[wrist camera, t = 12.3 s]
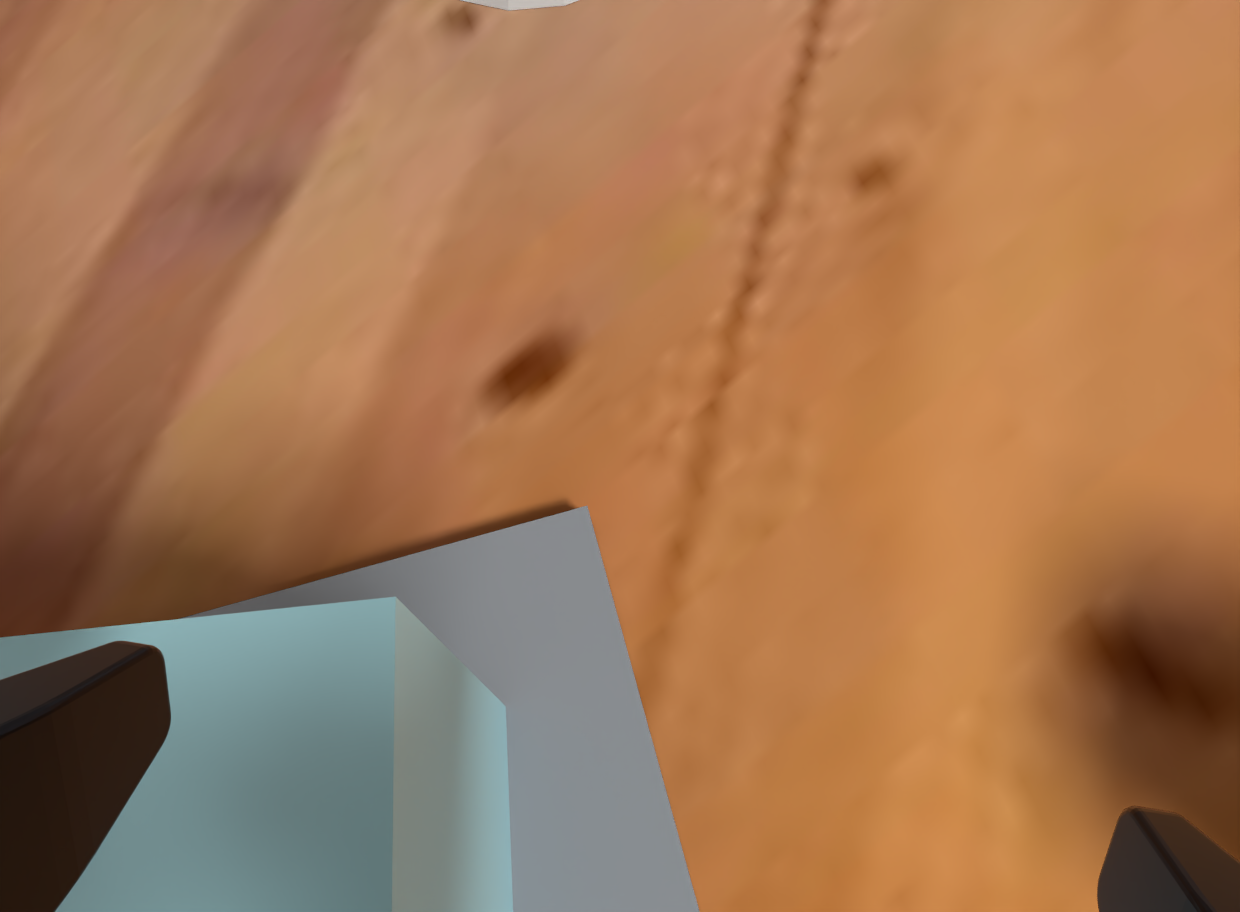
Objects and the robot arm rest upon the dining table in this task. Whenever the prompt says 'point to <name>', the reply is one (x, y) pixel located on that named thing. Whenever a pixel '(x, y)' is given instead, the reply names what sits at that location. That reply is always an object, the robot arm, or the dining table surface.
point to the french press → (521, 3)
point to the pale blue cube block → (305, 769)
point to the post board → (545, 706)
